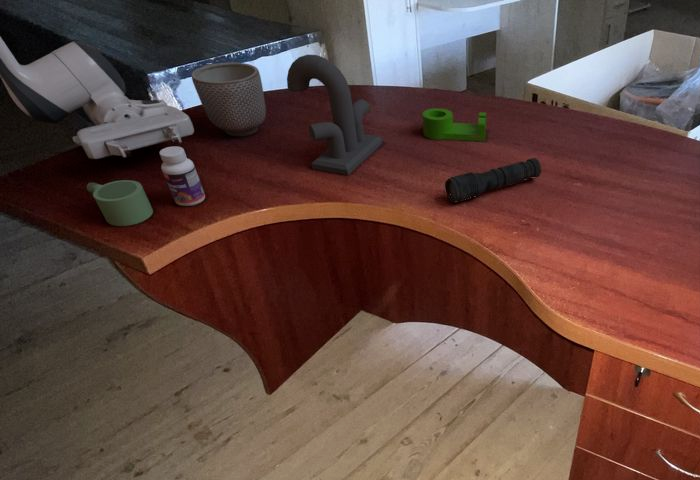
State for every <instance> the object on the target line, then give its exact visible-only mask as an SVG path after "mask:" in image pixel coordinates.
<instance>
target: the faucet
mask: <svg viewBox="0 0 700 480" xmlns="http://www.w3.org/2000/svg"><path fill="white" fill-rule="evenodd" d="M311 80H317V81H319V82H320V83H322V85H323V86H324V87H325V89H326V90H327V93H328V98H329V104H330V105H329V106H330V109H331V116H332V122H331V121H322V122H317V123H312V124H311V123H310V124H309V125H308V131H309V132H308V133H309V135H310V138H311V140H312V142H321V141H324V140H327V143H328V149H327V150H325V151H324V152H323V153H322V154H320V156H318V157H317V158H316V159H315V160H314V161H312V163H311V169H313V170H317V171H322V172H328V173H333V174H334V173H335V174H338V175H339V174H340V175H345V176H349V175H350V174H351V173H352V172H354V171H355V169H357V168H358V167H359V166H360V165H362V163H363V162H365V160H366V159H367V158H368V157H369V156H371V155H372V154H373V153H374V152H375V151H376V150H377V149H378V148H379V147H380V146H382V145H383V144H384V142H383V141H384V140H383V138H382V137H380V136H378V135H373V134H368V133H367V134H366V133H365V131H364V125H363V118H364V117H365V116H366V115H368V114H369V113H370V110H371V105H370V104H369V101H367V100H366V99H364V98H358V100H356V101H355V102H352V95H351V88H350V85H349V83H348V81H347V78H346V76H344V73H342V70H340V69H339V68H338V66H337V65H335V64H334V63H333V62H332V61H330V60H329V59H328V58H326V57H323V56H320V55H318V54H305V55H301V56H298V57H297V58H296V59H295V60H294V61H292V62H291V64H290V67H289V68H288V71H287V75H286V85H287V89H288V90H289V91H290V92H296V93H297V92H304V91H307V90H308V89H309V88H310V83H311Z"/></svg>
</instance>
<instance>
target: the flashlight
mask: <svg viewBox="0 0 700 480" xmlns="http://www.w3.org/2000/svg"><path fill="white" fill-rule="evenodd" d="M541 173H542V169H541V163H540V161H539V159H537V158H536V157H532V158H531V157H530V158H529V159H528V158H527V159H526V160H525V161H519V162H514V163H510V164H506V165H503V166H499V167H497V168H492V169H489V170H488V171H484V172H481V173H479V172H466V173H461V174H458V175H454V176H450V178H447V179H446V181H445V183H444V188H445V189H444V190H445V194H446V196H447V198H448V200H449V201H450V202H451V203H452V204H454V203H461V202H464V201H469V200H472V199H475V198H478V196H480V195H482V194H484V192H487V191H489V190H493V189H494V190H497V189H496V188H498V189H500V188H501V187H502V188H504V187H503V186H505V187H508V186H511V185H510V184H512V185H516V184H518V183H517V182H519V183H521V182H520V181H522V182H525V181H527V180H529V179H530V180H534V179H535V180H536V178H534V179H533V178H531V177H537V178H539V177H540V175H541ZM528 178H529V179H528ZM524 179H527V180H524ZM513 183H515V184H513ZM506 185H508V186H506ZM500 186H501V187H500ZM499 187H500V188H499ZM492 188H493V189H492ZM481 193H482V194H481ZM450 194H451V195H450ZM479 194H480V195H479ZM474 196H476V197H474ZM470 197H471V198H470ZM468 198H469V199H468ZM465 199H466V200H465ZM461 200H462V201H461ZM455 201H457V202H455Z"/></svg>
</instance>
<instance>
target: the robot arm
mask: <svg viewBox="0 0 700 480" xmlns="http://www.w3.org/2000/svg"><path fill="white" fill-rule="evenodd" d="M0 79H1V81H2V83H3V85H4V86H5V89H6V90H7V93H8V95H9V96H10V98H11V99H12V100H13V102H14V103H15V105H16V106H17V107H18V108H19V109H20V110H21V111H22V112H23V113H24V114H26V116H28V117H30V118H31V119H32V120H34V121H38V122H43V123H49V124H57V123H60V122H61V121H63V120H64V119H65V118H67V117H68V116H69V115H71V114H72V112H74V111H76V110H78V109H80V108H82V109H83V111H84V113H85V114H86V116H87V118H89V120H90V121H91V122H92V123H93V124H94V125H93V126H88V127H85V128H81V129H79V130H78V131H77V132H76V135H75V136H72V141H73V142H74V143H75V145H76V146H81V147H82V149H83V152H84V153H85V155H86V156H87V157H88V159H90V160H100V159H103V158H108V157H111V156H121V157H122V158H123V159H125V158H128V157H132V156H133V155H132V153H131V151H134V150H138V149H142V148H146V147H150V146H153V145H157V144H158V145H159V144H161V143H165V142H169V141H170V142H171V143H172V144H173V145H178V144H182V142H183V141H182V138H185V137H189V136H192V135H193V134H194V133H195V128H194V125H193V122H192V120H191V118H190V116H189V114H187V113H185V112H184V111H182V110H181V109H179V108H177V107H176V106H172V105H168V104H167V101H165V100H164V99H149V100H147V99H146V100H139V99H138V100H136V99H129V97H127V96H126V93H127V92H126V90H127V89H126V85H125V80H124V79H123V78H122V76H121V74H120V73H119V72H118V70H117V69H116V68H115V67H114V66H113V64H112V63H111V62H110V61H109V60H108V59H107V58H106V57H105V56H104V55H103V54H102V53H101V52H100V51H98V50H97V49H96V48H94V47H93V46H91V45H89V44H87V43H83V42H80V41H75V40H73V41H71V42H69V43H66V44H65V45H63V46H60V47H59V48H57V49H55V50H53V51H51V52H50V53H48V54H46V55H44V56H42V57H40V58H38V59H36V60H34V61H31V62H30V63H28V64H20V63H19V62H18V61H17V59H16V58H15V55H14V54H13V53H12V51H11V50H10V49H9V47H8V45H7V44H6V42H5V41H4V39H3V38H2V36H0Z"/></svg>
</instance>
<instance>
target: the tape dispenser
mask: <svg viewBox="0 0 700 480" xmlns="http://www.w3.org/2000/svg"><path fill="white" fill-rule="evenodd" d="M477 122H478V123H464V122H454V114H453V112H452V111H451V110H449V109H446V108H440V107H439V108H437V107H436V108H428V109H426V110H424V111H422V129H423V130H422V132H423V135H424V136H425V137H426V138H428V139H431V140H437V141H438V140H450V141H451V140H452V141H472V142H485V141H486V131H487V112H483V111H482V112H481V111H479V112H478V121H477ZM485 129H486V130H485ZM450 135H451V136H450ZM452 135H453V136H452ZM470 136H481V137H470Z"/></svg>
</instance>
